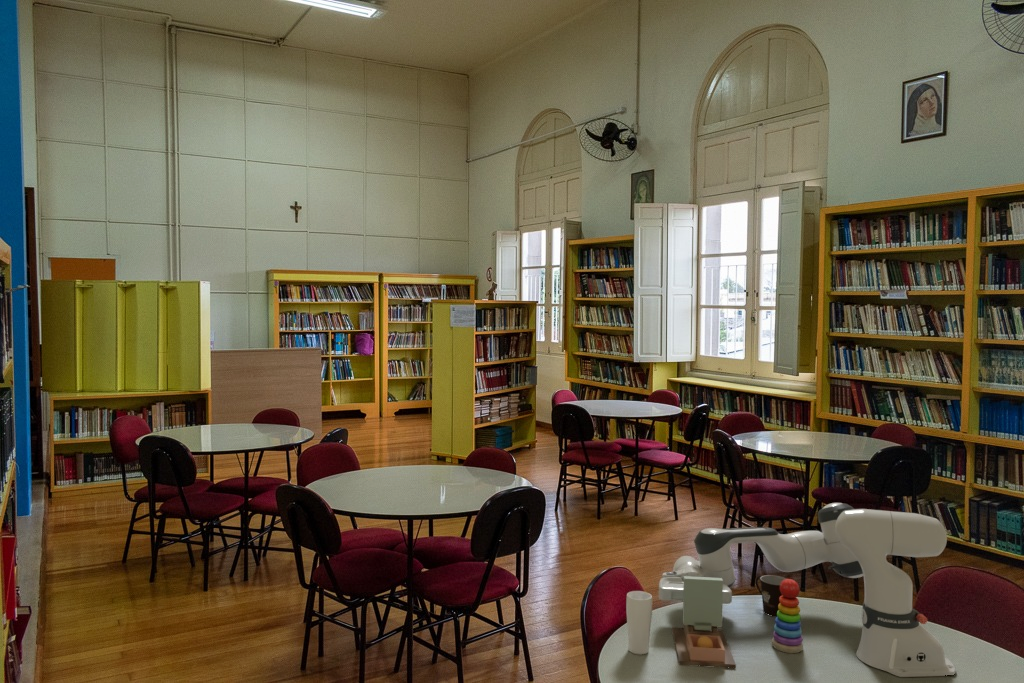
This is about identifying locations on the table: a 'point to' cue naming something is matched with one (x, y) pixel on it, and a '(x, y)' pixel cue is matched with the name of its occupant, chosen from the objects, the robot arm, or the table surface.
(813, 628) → the table surface
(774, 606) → the coffee mug
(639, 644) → the drinking glass
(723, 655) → the terracotta cup
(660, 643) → the table surface
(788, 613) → the stacking toy
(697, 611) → the pale green panel
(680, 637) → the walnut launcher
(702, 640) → the orange rubber ball
